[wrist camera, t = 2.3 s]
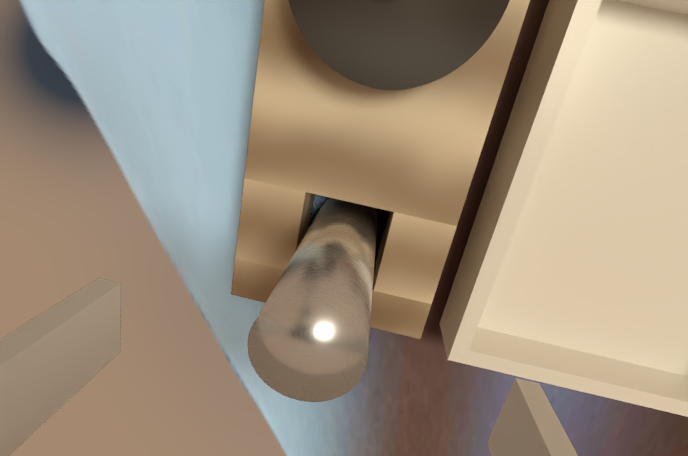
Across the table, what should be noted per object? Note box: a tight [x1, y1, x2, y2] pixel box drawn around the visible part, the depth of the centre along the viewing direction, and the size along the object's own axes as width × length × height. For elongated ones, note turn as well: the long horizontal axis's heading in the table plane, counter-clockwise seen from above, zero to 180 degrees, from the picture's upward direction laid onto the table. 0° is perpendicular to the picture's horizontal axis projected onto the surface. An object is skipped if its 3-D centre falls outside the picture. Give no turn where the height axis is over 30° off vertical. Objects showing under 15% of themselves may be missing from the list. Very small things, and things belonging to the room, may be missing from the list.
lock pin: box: [248, 198, 377, 402], centre depth 19 cm, size 4×4×14 cm
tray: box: [439, 0, 688, 417], centre depth 22 cm, size 22×18×4 cm
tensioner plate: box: [231, 0, 530, 339], centre depth 20 cm, size 24×12×8 cm, turn 169°
